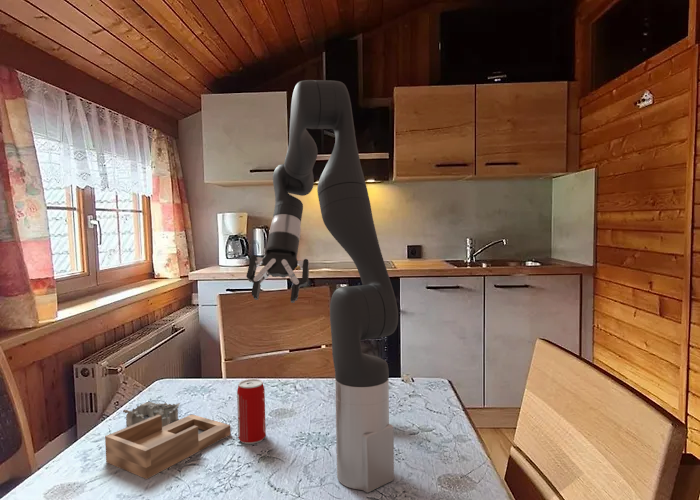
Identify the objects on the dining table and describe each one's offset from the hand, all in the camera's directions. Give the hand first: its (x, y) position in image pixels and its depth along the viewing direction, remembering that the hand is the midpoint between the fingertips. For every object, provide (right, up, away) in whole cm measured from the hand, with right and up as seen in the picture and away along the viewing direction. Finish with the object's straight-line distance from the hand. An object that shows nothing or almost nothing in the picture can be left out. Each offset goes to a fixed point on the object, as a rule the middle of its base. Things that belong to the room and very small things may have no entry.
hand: (274, 300), depth 107 cm
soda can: (-3, -28, -11) cm, 30 cm away
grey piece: (-27, -28, -1) cm, 39 cm away
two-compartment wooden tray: (-18, -28, -14) cm, 36 cm away
